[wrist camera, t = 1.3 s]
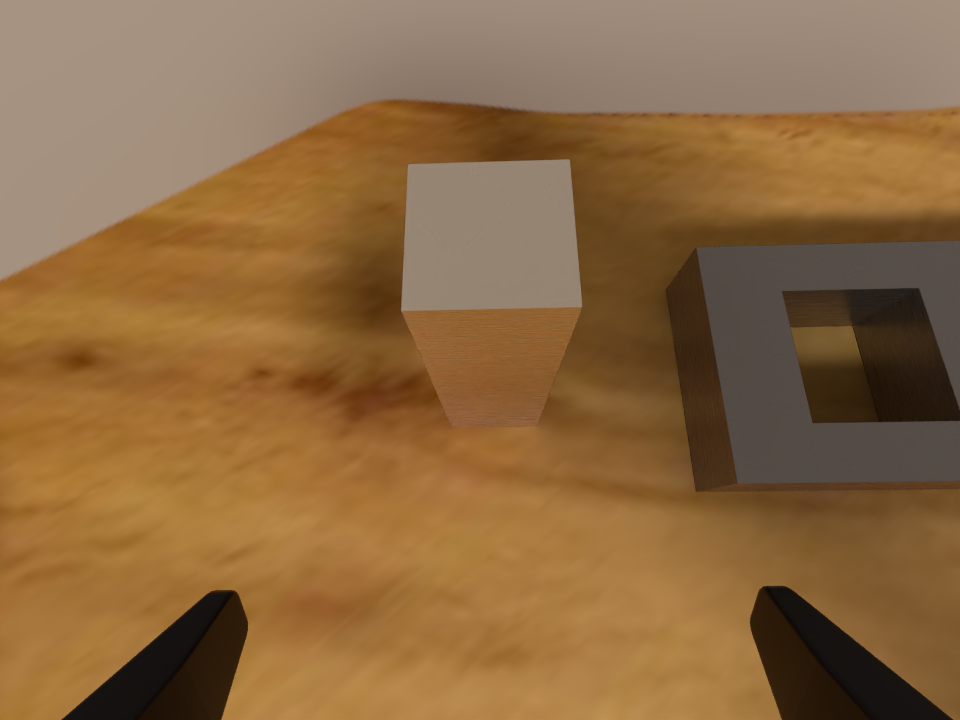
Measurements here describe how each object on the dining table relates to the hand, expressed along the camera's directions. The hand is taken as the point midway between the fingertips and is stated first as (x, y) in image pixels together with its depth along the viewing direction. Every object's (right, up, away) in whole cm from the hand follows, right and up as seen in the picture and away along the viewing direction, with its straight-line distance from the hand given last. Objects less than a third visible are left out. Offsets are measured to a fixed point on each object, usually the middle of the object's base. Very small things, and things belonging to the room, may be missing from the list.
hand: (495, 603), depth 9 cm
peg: (0, +3, +15) cm, 16 cm away
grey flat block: (+19, +3, +15) cm, 25 cm away
